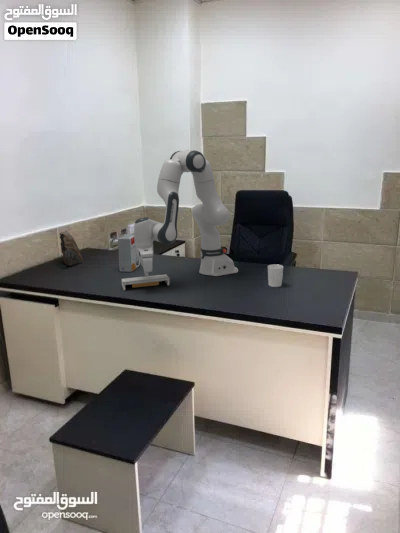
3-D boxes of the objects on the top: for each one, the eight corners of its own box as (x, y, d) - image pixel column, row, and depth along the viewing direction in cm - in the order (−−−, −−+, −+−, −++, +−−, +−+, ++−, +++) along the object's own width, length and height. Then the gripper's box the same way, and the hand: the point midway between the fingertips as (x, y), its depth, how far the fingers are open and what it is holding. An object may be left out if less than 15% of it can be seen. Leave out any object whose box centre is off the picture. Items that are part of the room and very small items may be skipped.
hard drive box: (131, 272, 245) (129, 239, 240) (119, 271, 247) (116, 238, 241) (140, 265, 260) (138, 233, 254) (129, 264, 261) (126, 233, 256)
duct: (166, 280, 228) (166, 275, 227) (169, 285, 220) (169, 279, 219) (121, 285, 222) (121, 280, 221) (123, 290, 214) (123, 284, 213)
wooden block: (158, 283, 224) (157, 279, 224) (158, 285, 222) (158, 281, 221) (131, 286, 221) (131, 282, 221) (132, 288, 218) (132, 283, 218)
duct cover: (166, 275, 227) (166, 273, 226) (169, 280, 218) (169, 277, 218) (121, 280, 221) (121, 277, 220) (123, 284, 212) (122, 282, 212)
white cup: (273, 288, 211) (274, 269, 209) (264, 284, 218) (264, 265, 215) (285, 285, 215) (286, 267, 212) (276, 281, 222) (276, 263, 219)
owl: (67, 266, 262) (63, 234, 256) (55, 263, 270) (52, 232, 264) (84, 261, 271) (80, 231, 266) (72, 259, 279) (69, 229, 274)
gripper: (135, 246, 222) (138, 270, 226) (141, 255, 203) (143, 282, 207) (147, 244, 223) (149, 269, 227) (153, 253, 204) (155, 280, 208)
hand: (146, 275), depth 217 cm, fingers closed
